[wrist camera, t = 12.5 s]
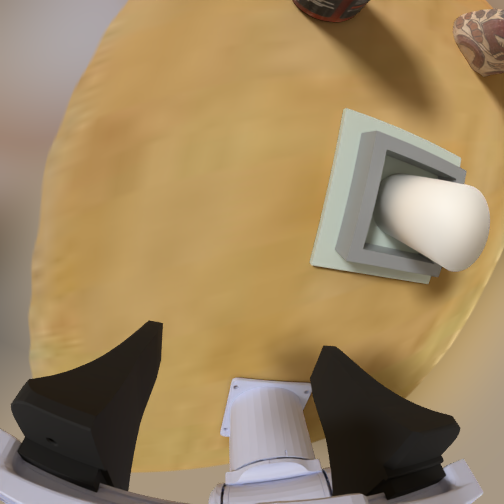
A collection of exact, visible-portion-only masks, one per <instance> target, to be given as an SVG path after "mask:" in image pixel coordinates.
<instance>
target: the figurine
mask: <svg viewBox="0 0 504 504" xmlns="http://www.w3.org/2000/svg"><path fill="white" fill-rule="evenodd" d="M453 35H454V39H455V42H456V43H457V45H458V47H459V49H460V51H461V52H462V54H463V55H464V57H465V58H466V59H467V61H468V62H469V64H470V66H471V67H472V69H473V70H474V71H476V72H478V73H480V74H481V75H482V76H484V77H485V76H489V75H493V74H501V73H504V10H501V9H488V10H479V11H475V12H470V13H465V14H463V15H461V16H460V17H458V18H457V19H456V20H455V21H454V26H453Z"/></svg>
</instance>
